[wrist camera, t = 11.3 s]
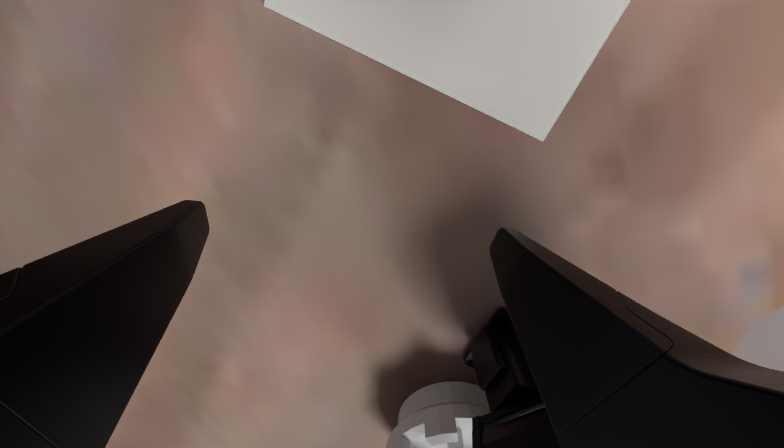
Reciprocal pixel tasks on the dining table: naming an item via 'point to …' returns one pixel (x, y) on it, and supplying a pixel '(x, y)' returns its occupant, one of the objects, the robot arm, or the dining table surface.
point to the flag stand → (439, 416)
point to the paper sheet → (475, 47)
